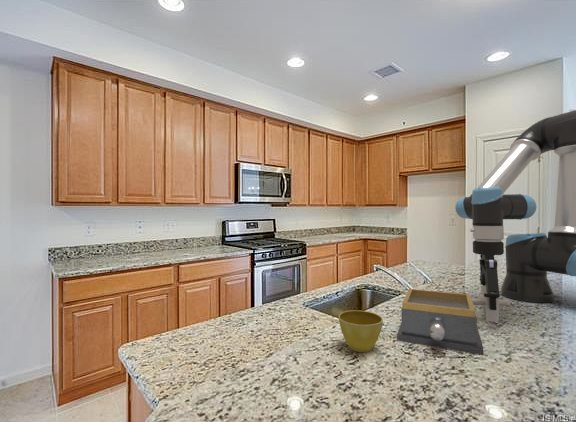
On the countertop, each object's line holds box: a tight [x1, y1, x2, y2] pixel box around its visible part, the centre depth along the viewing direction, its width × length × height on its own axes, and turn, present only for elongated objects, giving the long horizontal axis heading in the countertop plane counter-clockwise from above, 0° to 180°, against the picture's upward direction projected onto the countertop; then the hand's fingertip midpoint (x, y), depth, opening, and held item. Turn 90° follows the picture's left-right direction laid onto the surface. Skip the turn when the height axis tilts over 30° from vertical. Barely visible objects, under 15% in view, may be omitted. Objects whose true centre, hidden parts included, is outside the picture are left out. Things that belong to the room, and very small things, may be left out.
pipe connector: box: [471, 285, 511, 312], centre depth 88 cm, size 10×10×10 cm
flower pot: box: [338, 309, 384, 353], centre depth 71 cm, size 10×10×7 cm
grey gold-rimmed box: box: [396, 288, 484, 355], centre depth 77 cm, size 18×22×9 cm
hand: (489, 313), depth 88 cm, fingers open, 13 cm apart
